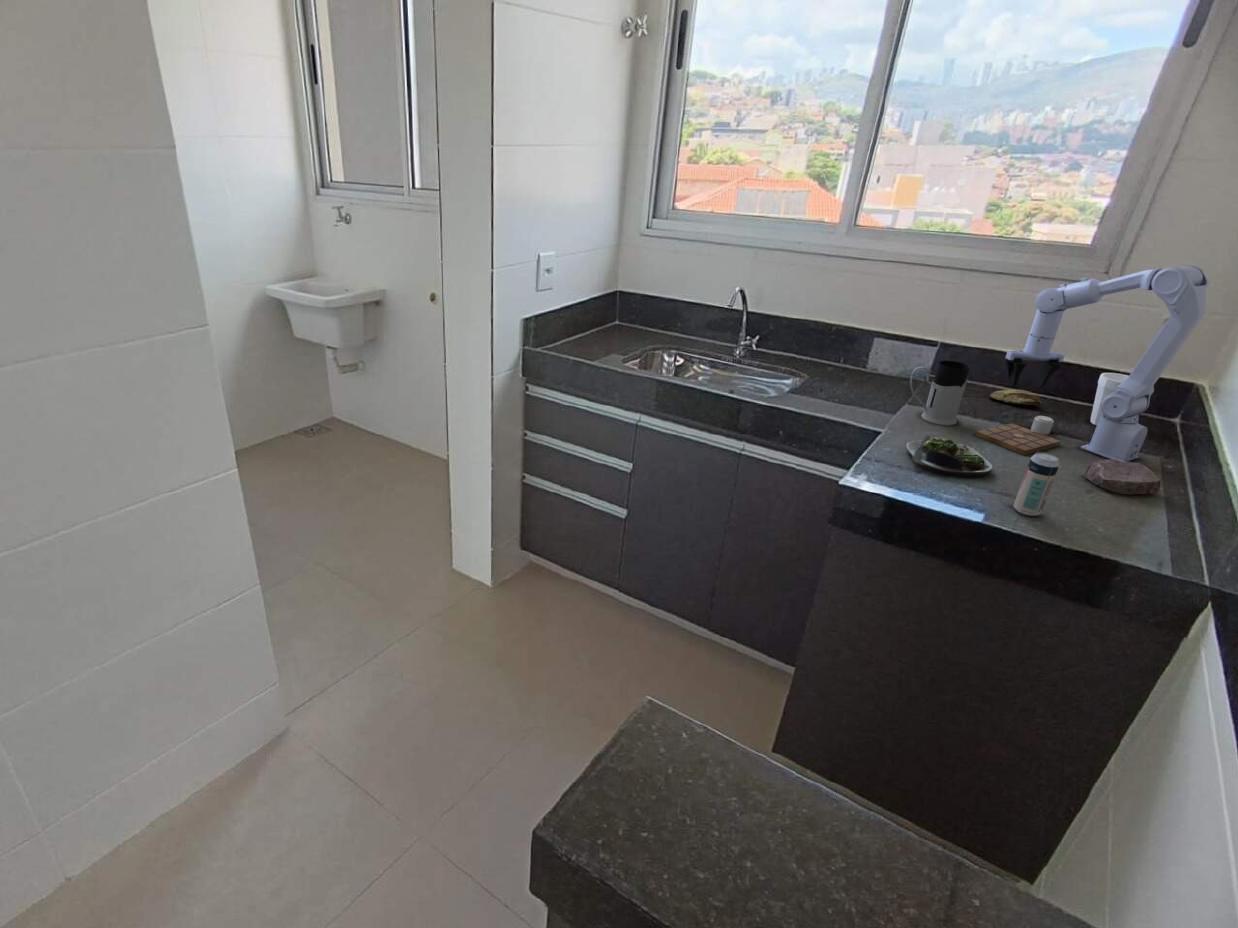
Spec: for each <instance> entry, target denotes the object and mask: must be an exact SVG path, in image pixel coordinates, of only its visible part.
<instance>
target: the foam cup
mask: <svg viewBox="0 0 1238 928" xmlns="http://www.w3.org/2000/svg"><path fill="white" fill-rule="evenodd" d="M1128 377H1129V375H1128V374H1122V373H1117V372H1102V373H1101V374H1099V378H1098V380H1097V388H1096V391H1095V392H1096V393H1095V398H1094V402H1093V405H1092V410H1091V415H1090V420H1089V421H1090V423H1091V424H1092V425H1095V426H1097V424H1098V422H1099V419H1100V417H1101V414H1102V411H1101V403H1102V401H1103V399H1104V398H1105V397H1106V396H1108V395H1110V394H1111V393H1113V392H1114V391H1115V389H1116V388H1117V387H1118V386H1119V385H1120V384H1121V383H1122V382H1123V381H1125V380H1126V379H1127V378H1128Z"/></svg>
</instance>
